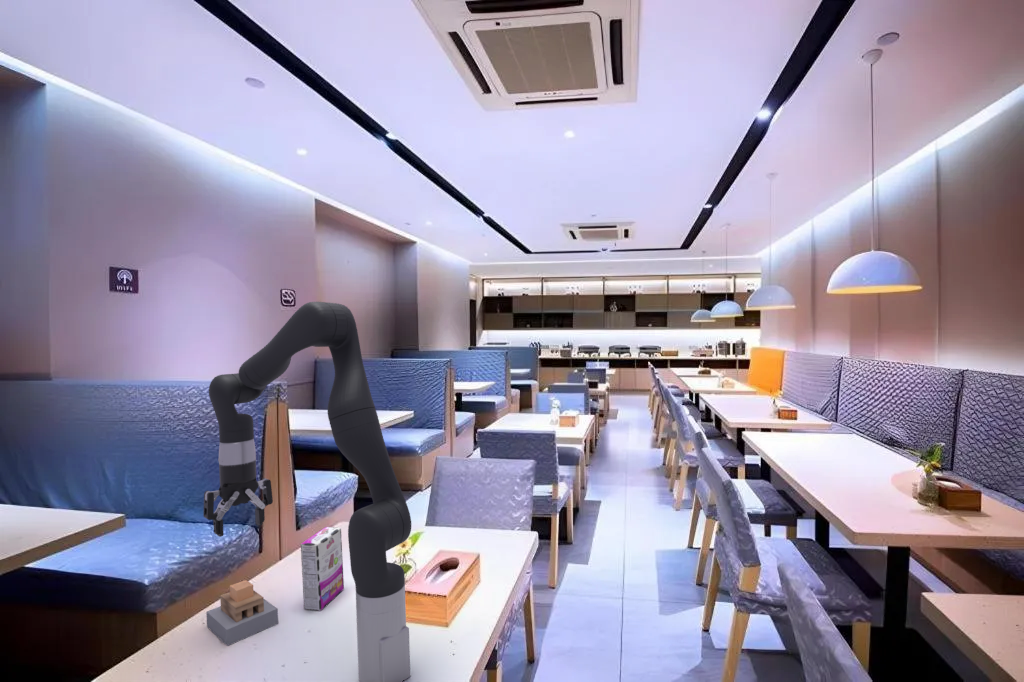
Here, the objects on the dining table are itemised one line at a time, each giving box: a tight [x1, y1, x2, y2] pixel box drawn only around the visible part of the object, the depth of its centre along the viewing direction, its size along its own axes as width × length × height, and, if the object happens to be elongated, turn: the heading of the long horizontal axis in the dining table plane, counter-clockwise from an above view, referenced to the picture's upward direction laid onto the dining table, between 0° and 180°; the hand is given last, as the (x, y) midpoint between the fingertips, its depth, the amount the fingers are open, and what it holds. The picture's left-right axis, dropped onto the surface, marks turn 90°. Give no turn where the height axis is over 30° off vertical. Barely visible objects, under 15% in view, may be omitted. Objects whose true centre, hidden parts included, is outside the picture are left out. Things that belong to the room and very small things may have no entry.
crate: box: [229, 579, 254, 602], centre depth 120 cm, size 4×4×3 cm
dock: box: [206, 598, 279, 646], centre depth 120 cm, size 12×11×4 cm
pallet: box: [220, 589, 265, 622], centre depth 120 cm, size 9×6×3 cm, turn 49°
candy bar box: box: [300, 526, 345, 611], centre depth 131 cm, size 11×5×16 cm, turn 168°
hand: (240, 530), depth 120 cm, fingers open, 8 cm apart
